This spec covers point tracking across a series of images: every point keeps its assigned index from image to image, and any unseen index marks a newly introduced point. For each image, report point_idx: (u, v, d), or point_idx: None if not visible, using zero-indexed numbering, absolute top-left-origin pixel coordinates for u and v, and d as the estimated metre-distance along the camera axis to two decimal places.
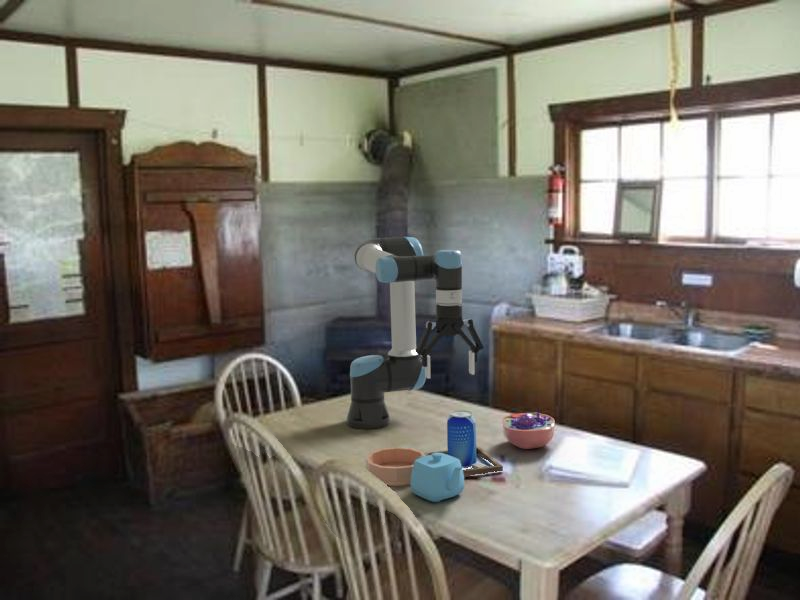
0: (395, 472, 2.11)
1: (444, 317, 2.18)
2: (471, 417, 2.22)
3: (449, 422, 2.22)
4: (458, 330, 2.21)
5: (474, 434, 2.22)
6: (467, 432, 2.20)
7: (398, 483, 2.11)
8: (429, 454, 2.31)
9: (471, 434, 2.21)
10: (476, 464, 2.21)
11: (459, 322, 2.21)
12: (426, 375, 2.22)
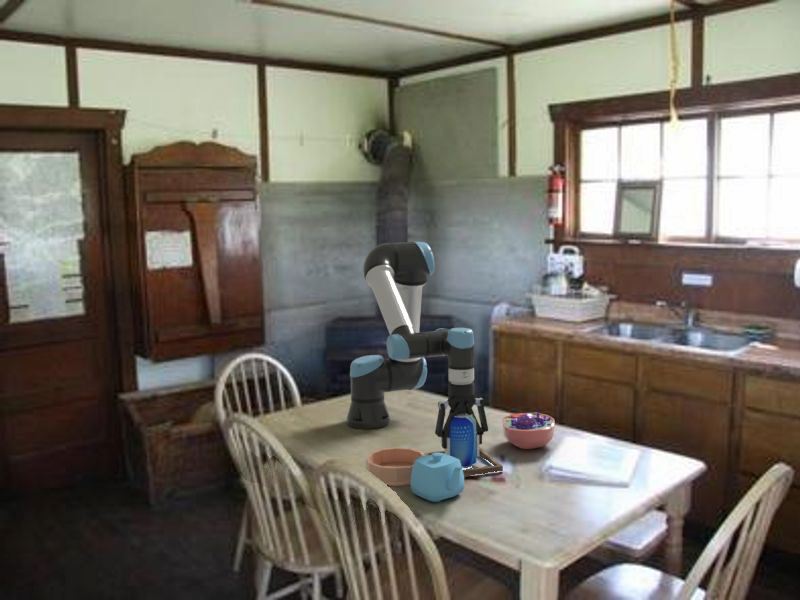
0: (395, 472, 2.11)
1: (456, 396, 2.19)
2: (471, 417, 2.22)
3: None
4: (470, 408, 2.22)
5: (474, 434, 2.22)
6: (467, 432, 2.20)
7: (398, 483, 2.11)
8: (429, 454, 2.31)
9: (471, 434, 2.21)
10: (476, 464, 2.21)
11: (471, 399, 2.22)
12: None
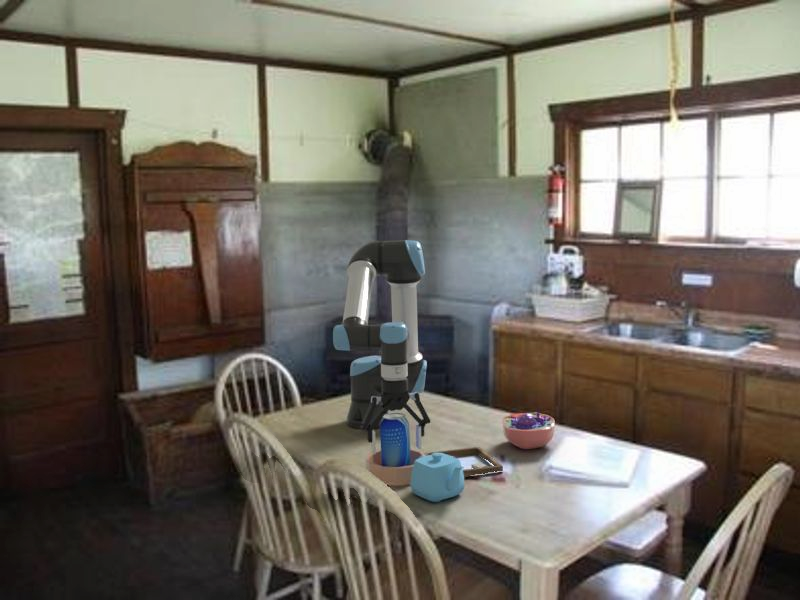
0: (395, 472, 2.11)
1: (389, 392, 2.13)
2: (403, 419, 2.17)
3: (381, 425, 2.17)
4: (404, 404, 2.16)
5: (407, 436, 2.17)
6: (399, 434, 2.15)
7: (398, 483, 2.11)
8: (429, 454, 2.31)
9: (403, 437, 2.16)
10: (476, 464, 2.21)
11: (405, 396, 2.16)
12: (371, 450, 2.17)
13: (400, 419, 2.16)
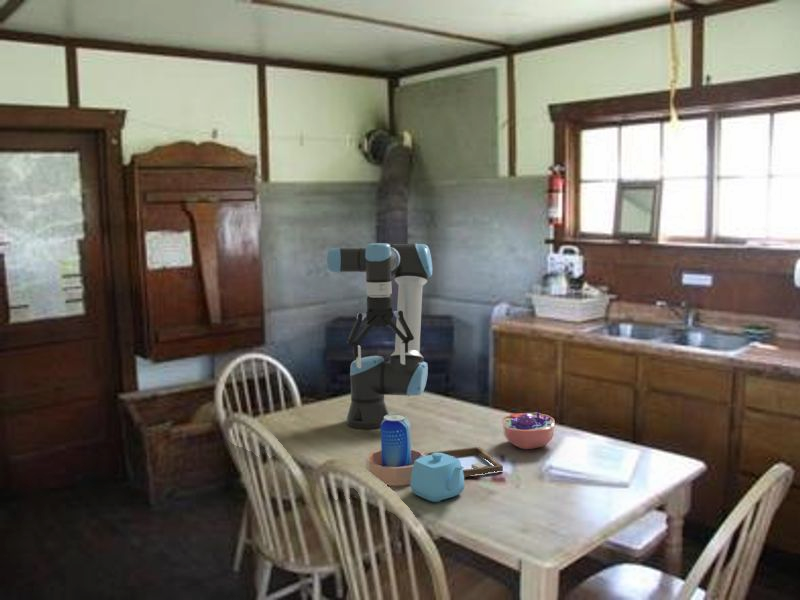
0: (395, 472, 2.11)
1: (374, 308, 2.25)
2: (404, 421, 2.16)
3: (382, 426, 2.16)
4: (388, 321, 2.27)
5: (408, 438, 2.16)
6: (399, 436, 2.14)
7: (398, 483, 2.11)
8: (429, 454, 2.31)
9: (404, 438, 2.15)
10: (476, 464, 2.21)
11: (389, 313, 2.28)
12: (357, 365, 2.28)
13: (401, 421, 2.15)
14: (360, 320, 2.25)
